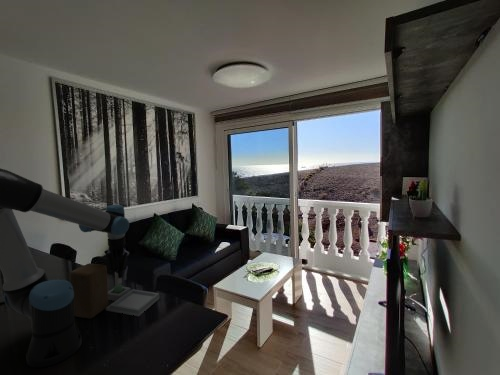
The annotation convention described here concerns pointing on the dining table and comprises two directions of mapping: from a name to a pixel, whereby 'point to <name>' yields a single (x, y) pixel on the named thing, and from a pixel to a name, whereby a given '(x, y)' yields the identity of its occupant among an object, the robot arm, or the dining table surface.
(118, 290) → the button
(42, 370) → the dining table surface
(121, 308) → the shallow gray rectangular tray
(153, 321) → the dining table surface
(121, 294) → the button housing
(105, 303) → the wooden block
